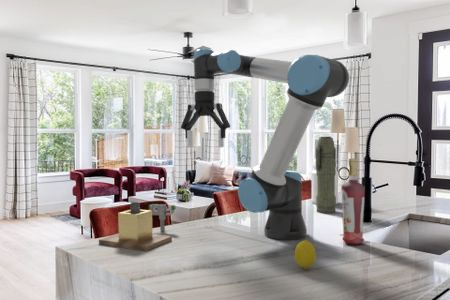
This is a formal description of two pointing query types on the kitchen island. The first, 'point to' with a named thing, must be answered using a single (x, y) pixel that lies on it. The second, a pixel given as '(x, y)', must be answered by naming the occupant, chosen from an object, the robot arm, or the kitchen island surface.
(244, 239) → the kitchen island surface
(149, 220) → the hollow square tube
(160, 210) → the mechanical component
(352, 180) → the liquor
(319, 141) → the thermos
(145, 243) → the wooden base with rod
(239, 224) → the kitchen island surface
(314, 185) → the bottle
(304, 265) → the lemon
